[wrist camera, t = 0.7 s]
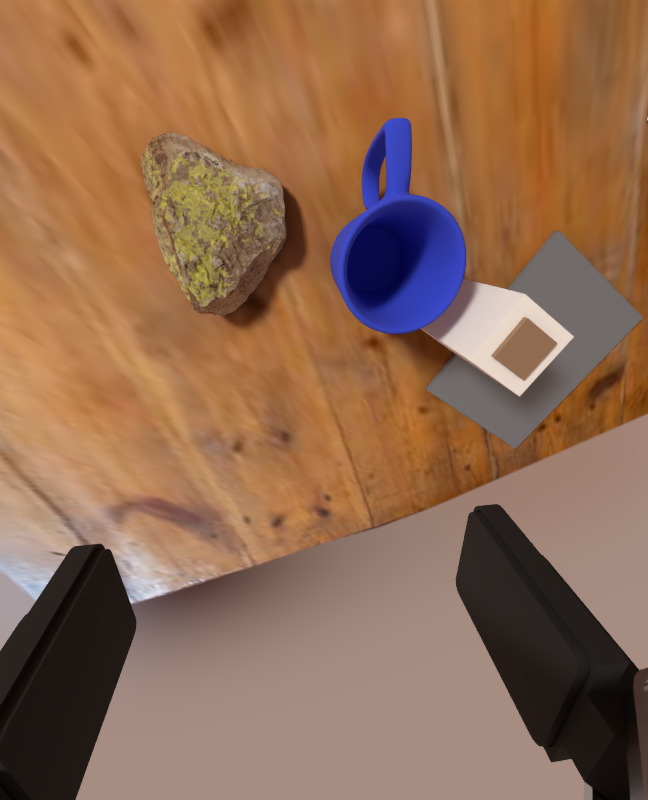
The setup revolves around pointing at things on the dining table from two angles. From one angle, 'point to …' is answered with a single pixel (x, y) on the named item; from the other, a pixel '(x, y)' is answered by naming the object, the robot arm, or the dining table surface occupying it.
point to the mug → (397, 245)
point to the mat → (593, 339)
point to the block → (500, 334)
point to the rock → (212, 221)
